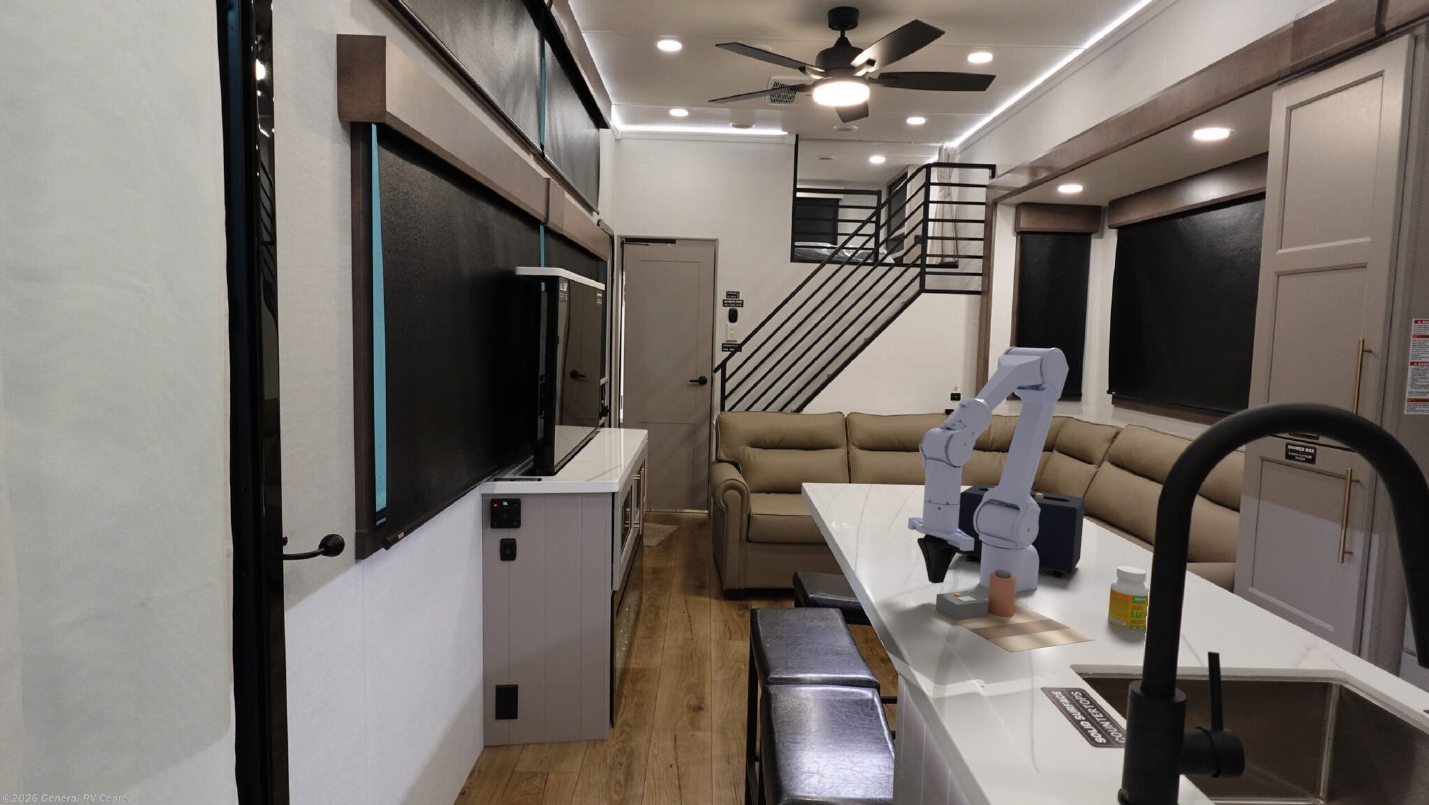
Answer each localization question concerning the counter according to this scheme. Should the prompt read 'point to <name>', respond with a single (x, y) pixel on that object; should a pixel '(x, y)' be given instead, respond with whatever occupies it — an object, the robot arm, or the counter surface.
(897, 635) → the counter surface
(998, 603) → the peg
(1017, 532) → the robot arm
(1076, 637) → the board
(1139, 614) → the supplement bottle
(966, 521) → the speaker
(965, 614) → the block
